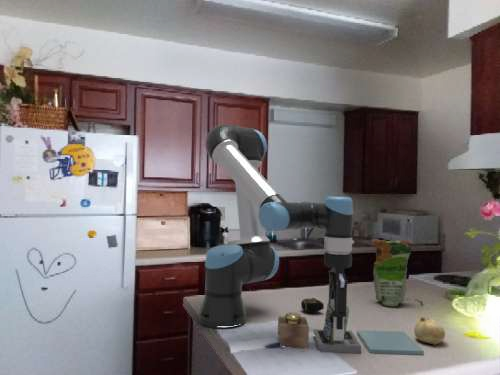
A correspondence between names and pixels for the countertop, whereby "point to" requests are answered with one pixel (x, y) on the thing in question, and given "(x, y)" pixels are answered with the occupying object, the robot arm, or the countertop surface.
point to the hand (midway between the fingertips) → (336, 336)
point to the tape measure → (312, 305)
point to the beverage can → (329, 323)
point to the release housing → (293, 333)
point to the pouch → (391, 270)
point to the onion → (429, 331)
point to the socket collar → (337, 348)
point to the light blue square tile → (389, 342)
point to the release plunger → (293, 317)
